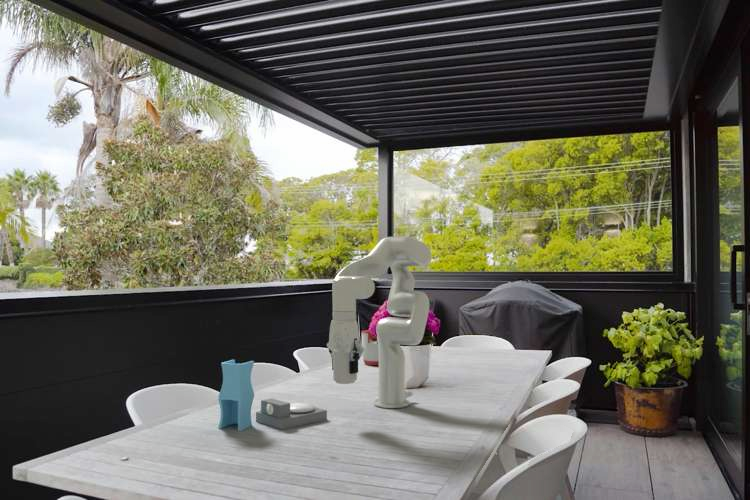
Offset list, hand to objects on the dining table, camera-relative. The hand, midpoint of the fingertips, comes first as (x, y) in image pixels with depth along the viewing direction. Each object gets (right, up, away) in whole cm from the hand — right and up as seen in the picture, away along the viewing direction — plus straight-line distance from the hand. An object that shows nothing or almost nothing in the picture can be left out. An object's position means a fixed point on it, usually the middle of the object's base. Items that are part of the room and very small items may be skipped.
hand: (345, 371), depth 194 cm
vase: (-34, -16, -5) cm, 38 cm away
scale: (-18, -17, +3) cm, 24 cm away
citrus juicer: (+10, -21, +119) cm, 121 cm away
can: (0, -4, 0) cm, 4 cm away
